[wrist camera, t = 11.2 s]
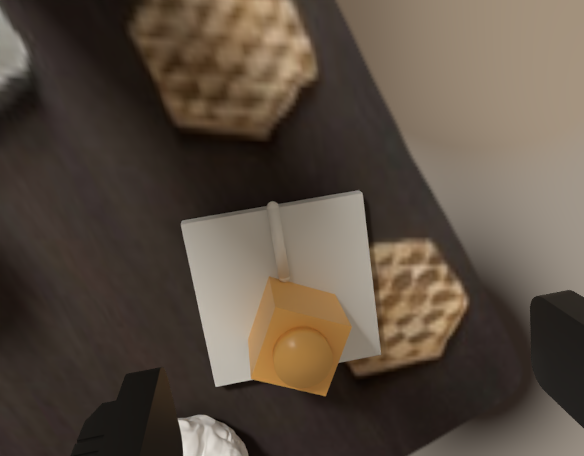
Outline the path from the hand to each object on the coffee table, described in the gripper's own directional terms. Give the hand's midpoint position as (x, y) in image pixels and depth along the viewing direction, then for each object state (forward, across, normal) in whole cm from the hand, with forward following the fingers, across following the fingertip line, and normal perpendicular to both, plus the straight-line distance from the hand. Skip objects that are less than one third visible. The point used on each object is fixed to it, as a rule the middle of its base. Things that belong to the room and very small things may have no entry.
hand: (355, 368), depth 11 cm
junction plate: (+30, 0, +10) cm, 32 cm away
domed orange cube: (+29, 0, +12) cm, 31 cm away
